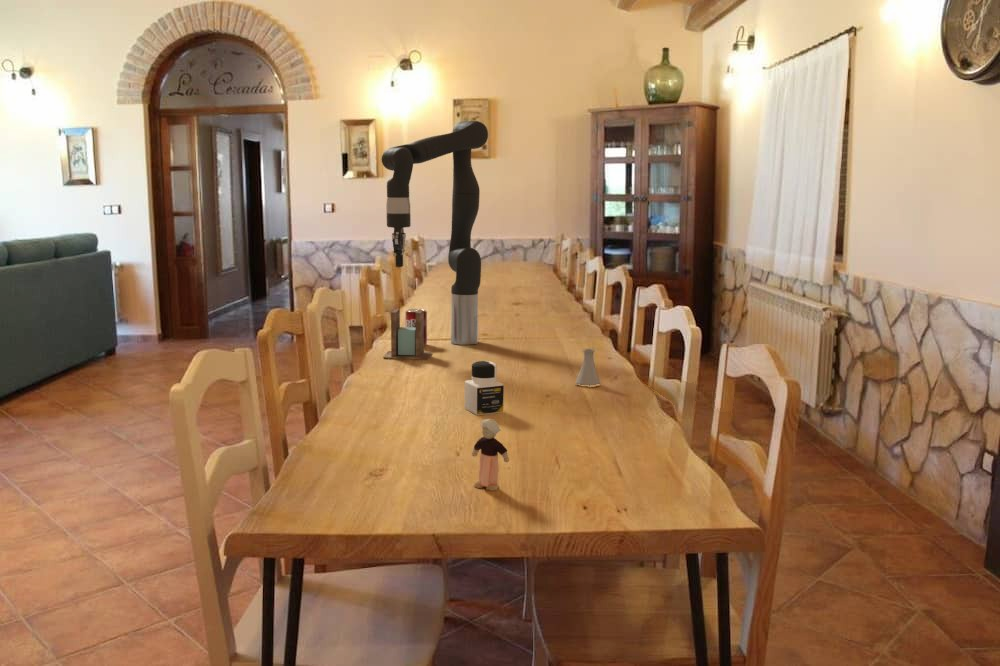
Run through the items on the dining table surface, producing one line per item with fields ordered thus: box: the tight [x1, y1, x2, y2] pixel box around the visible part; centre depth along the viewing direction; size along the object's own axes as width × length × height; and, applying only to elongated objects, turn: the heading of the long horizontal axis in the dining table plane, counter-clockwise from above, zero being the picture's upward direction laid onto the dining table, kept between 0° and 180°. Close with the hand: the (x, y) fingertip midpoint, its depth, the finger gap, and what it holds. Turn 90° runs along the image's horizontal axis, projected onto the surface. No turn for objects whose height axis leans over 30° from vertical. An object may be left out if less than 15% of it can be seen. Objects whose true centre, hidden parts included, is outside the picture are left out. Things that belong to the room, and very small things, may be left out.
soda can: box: [404, 308, 428, 347], centre depth 287 cm, size 7×7×12 cm
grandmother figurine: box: [471, 418, 510, 492], centre depth 150 cm, size 8×4×13 cm, turn 69°
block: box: [398, 326, 416, 355], centre depth 268 cm, size 5×5×8 cm
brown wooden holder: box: [382, 308, 432, 361], centre depth 267 cm, size 14×10×15 cm
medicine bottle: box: [464, 360, 505, 417], centre depth 202 cm, size 7×7×12 cm
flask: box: [575, 348, 601, 386], centre depth 231 cm, size 7×7×10 cm
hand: (399, 266), depth 270 cm, fingers closed
